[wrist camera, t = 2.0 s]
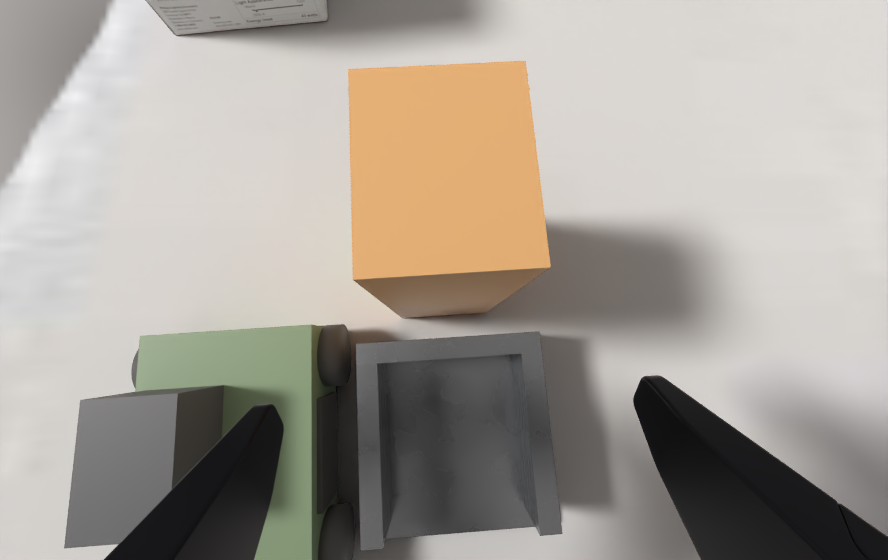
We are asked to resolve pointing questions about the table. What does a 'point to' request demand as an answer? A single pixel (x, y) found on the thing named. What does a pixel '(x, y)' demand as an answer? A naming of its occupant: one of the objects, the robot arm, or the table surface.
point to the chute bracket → (454, 437)
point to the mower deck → (250, 386)
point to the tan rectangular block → (444, 186)
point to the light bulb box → (235, 13)
